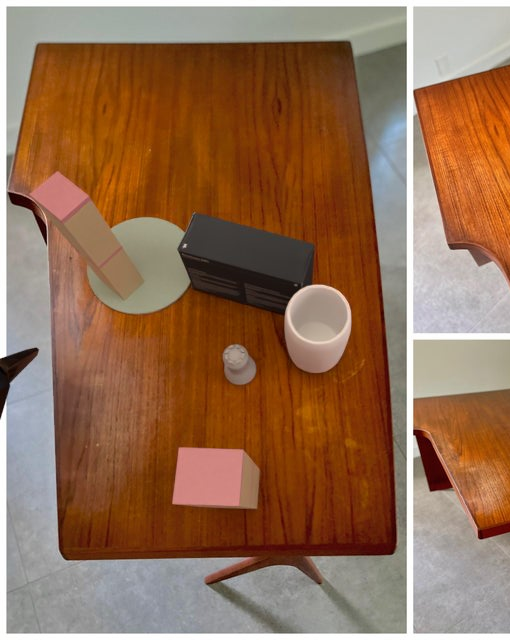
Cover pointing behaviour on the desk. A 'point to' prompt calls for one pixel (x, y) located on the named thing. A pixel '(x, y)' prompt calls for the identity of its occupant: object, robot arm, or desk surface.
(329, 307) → the cup
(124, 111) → the desk surface
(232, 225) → the box
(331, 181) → the desk surface
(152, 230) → the plate
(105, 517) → the desk surface
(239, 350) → the rook chess piece
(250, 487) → the tall pink tan block
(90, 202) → the pink-topped tan pillar
